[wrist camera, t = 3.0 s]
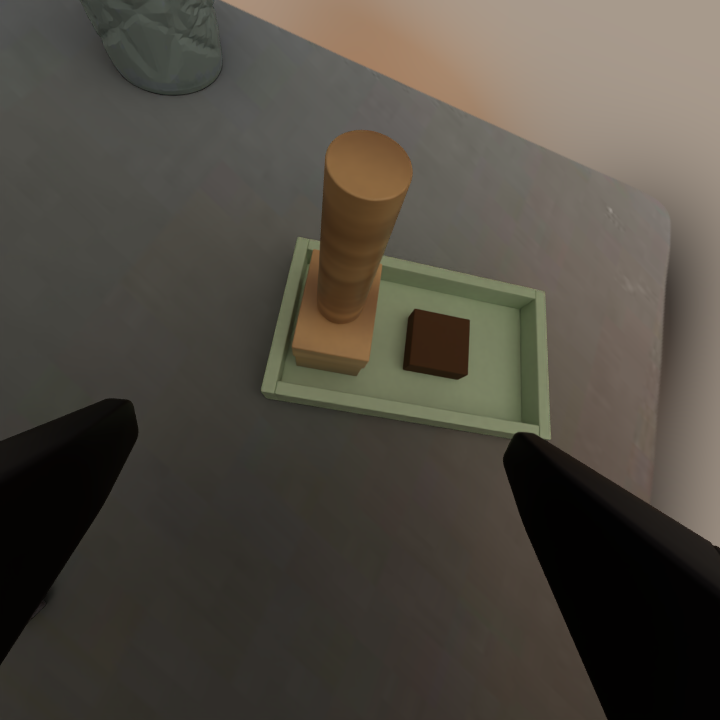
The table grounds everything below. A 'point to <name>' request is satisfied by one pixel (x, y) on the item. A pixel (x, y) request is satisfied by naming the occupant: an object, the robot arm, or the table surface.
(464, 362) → the dark brown block
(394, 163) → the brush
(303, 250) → the tray
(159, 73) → the grey-green cup
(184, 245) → the table surface
